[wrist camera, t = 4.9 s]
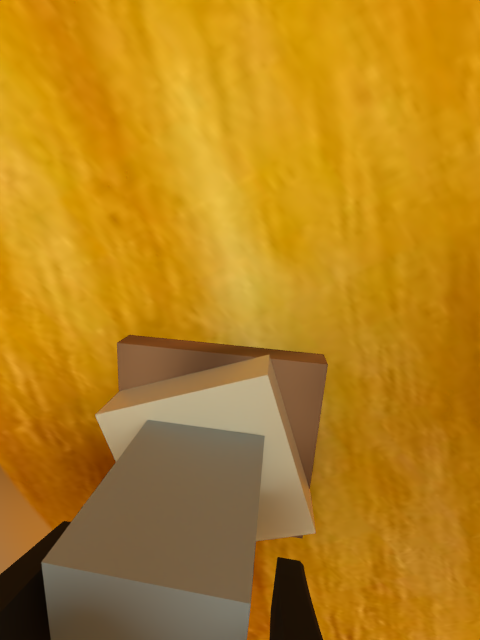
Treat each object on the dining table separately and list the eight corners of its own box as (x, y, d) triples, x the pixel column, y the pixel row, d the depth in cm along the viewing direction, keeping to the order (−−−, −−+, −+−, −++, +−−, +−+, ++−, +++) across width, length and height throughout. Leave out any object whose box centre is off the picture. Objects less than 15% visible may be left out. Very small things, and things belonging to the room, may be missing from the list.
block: (264, 436, 11) (250, 603, 6) (254, 532, 13) (235, 743, 7) (147, 419, 12) (41, 562, 7) (148, 513, 13) (58, 699, 8)
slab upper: (269, 354, 13) (267, 374, 11) (310, 493, 14) (315, 533, 12) (119, 390, 14) (95, 414, 12) (171, 515, 16) (156, 554, 14)
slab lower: (320, 348, 15) (327, 364, 13) (299, 504, 17) (302, 538, 15) (136, 330, 15) (117, 342, 14) (140, 481, 18) (123, 510, 16)
